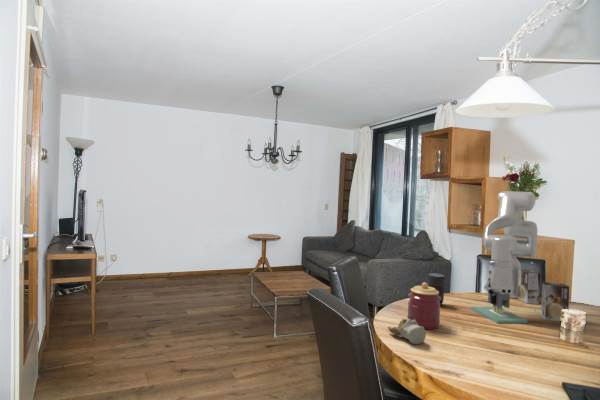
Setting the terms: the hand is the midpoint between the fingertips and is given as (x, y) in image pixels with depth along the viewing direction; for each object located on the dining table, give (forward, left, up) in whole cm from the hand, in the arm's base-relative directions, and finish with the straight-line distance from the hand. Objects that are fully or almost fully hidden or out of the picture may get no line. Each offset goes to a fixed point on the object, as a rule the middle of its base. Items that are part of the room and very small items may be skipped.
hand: (498, 303), depth 175 cm
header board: (0, 0, -6) cm, 6 cm away
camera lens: (-17, -22, -6) cm, 28 cm away
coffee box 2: (+5, +24, -6) cm, 25 cm away
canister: (+11, -41, -6) cm, 43 cm away
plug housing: (0, 0, -1) cm, 1 cm away
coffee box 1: (-23, +33, -6) cm, 41 cm away
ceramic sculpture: (+26, -53, -6) cm, 60 cm away
